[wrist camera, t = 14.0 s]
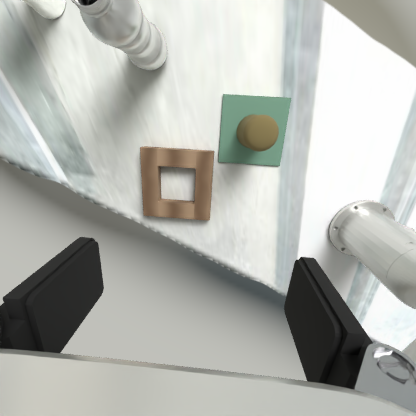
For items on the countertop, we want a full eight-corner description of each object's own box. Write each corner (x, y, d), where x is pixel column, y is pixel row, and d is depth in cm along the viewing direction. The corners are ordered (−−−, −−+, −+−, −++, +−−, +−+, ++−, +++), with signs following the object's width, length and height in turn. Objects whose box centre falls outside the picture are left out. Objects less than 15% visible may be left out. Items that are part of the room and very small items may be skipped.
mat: (290, 98, 40) (291, 97, 39) (279, 165, 44) (279, 165, 43) (223, 94, 40) (223, 94, 40) (218, 161, 44) (218, 161, 44)
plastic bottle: (170, 73, 39) (123, 28, 21) (133, 72, 40) (53, 26, 21) (170, 29, 37) (116, -67, 18) (130, 28, 37) (38, -68, 19)
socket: (214, 150, 44) (213, 152, 42) (209, 216, 49) (209, 220, 47) (144, 146, 44) (140, 147, 42) (146, 211, 49) (143, 215, 47)
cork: (270, 114, 40) (287, 110, 30) (267, 148, 42) (281, 156, 32) (237, 114, 41) (242, 110, 30) (235, 148, 43) (239, 155, 33)
